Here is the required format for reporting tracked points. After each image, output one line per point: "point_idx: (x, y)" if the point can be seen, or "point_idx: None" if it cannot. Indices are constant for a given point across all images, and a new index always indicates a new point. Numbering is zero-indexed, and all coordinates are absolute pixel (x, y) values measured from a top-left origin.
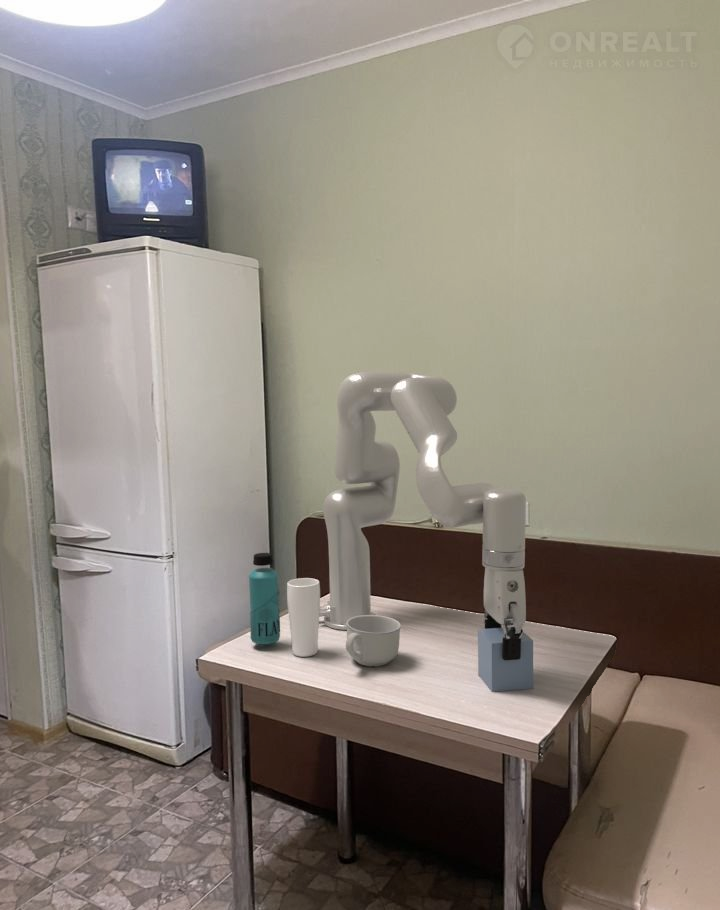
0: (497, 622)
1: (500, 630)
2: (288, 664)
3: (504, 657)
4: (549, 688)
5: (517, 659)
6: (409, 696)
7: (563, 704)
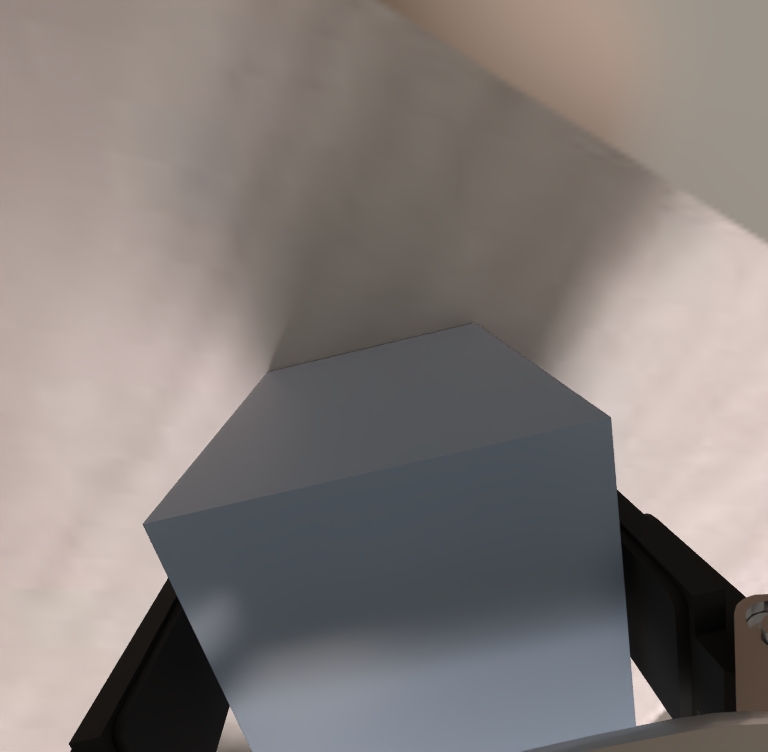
0: (150, 734)
1: (299, 676)
2: None
3: None
4: (475, 237)
5: None
6: None
7: (670, 201)
